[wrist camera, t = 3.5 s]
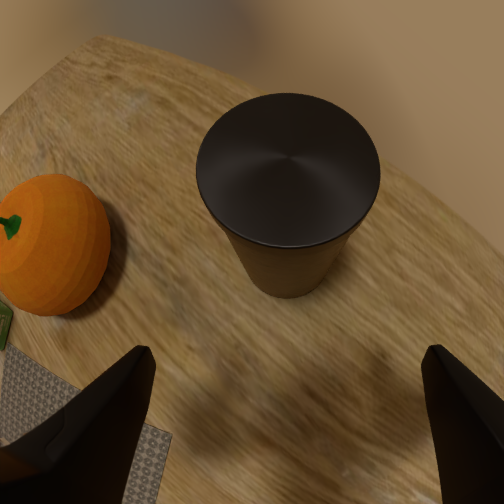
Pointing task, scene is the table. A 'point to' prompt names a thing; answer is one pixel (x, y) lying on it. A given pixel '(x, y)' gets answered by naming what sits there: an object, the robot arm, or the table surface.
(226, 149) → the canister
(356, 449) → the table surface
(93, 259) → the fruit
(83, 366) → the table surface
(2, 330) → the ink box
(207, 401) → the table surface
